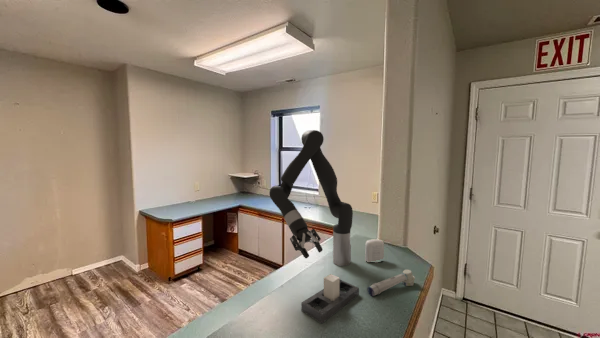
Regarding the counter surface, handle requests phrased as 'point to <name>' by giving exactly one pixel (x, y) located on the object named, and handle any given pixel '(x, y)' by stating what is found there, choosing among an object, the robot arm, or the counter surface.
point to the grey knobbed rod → (391, 283)
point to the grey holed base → (329, 302)
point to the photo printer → (374, 250)
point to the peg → (331, 287)
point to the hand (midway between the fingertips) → (314, 254)
